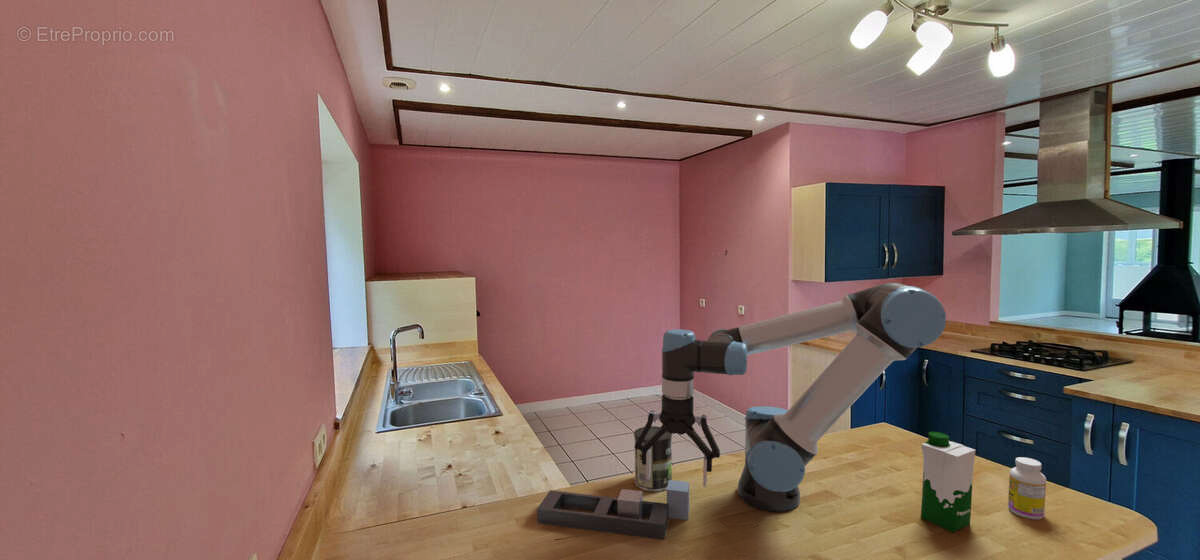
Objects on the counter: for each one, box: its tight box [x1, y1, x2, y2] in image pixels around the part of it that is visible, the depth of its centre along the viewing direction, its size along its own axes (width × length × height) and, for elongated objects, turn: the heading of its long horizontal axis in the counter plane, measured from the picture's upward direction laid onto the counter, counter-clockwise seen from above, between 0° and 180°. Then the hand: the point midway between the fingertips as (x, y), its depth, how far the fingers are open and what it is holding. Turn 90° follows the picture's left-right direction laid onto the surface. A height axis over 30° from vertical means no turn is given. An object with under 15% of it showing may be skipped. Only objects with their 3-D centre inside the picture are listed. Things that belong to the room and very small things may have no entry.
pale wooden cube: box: [617, 488, 644, 520], centre depth 116 cm, size 5×5×7 cm
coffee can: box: [633, 425, 673, 493], centre depth 135 cm, size 10×10×14 cm
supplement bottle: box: [1007, 456, 1047, 520], centre depth 118 cm, size 7×7×13 cm
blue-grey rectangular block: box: [666, 479, 690, 521], centre depth 120 cm, size 5×5×7 cm
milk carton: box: [920, 431, 977, 533], centre depth 115 cm, size 9×9×20 cm
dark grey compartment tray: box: [536, 490, 670, 541], centre depth 117 cm, size 30×9×4 cm, turn 76°
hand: (676, 480), depth 120 cm, fingers open, 13 cm apart
